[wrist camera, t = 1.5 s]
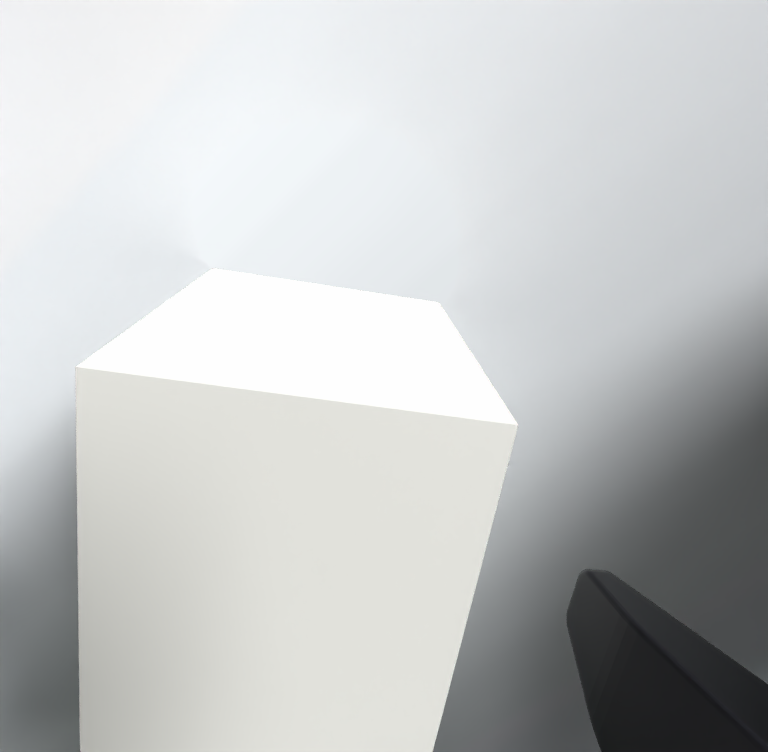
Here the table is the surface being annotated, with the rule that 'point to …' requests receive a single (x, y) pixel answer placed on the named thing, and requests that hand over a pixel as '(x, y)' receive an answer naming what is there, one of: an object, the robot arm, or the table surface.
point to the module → (280, 519)
